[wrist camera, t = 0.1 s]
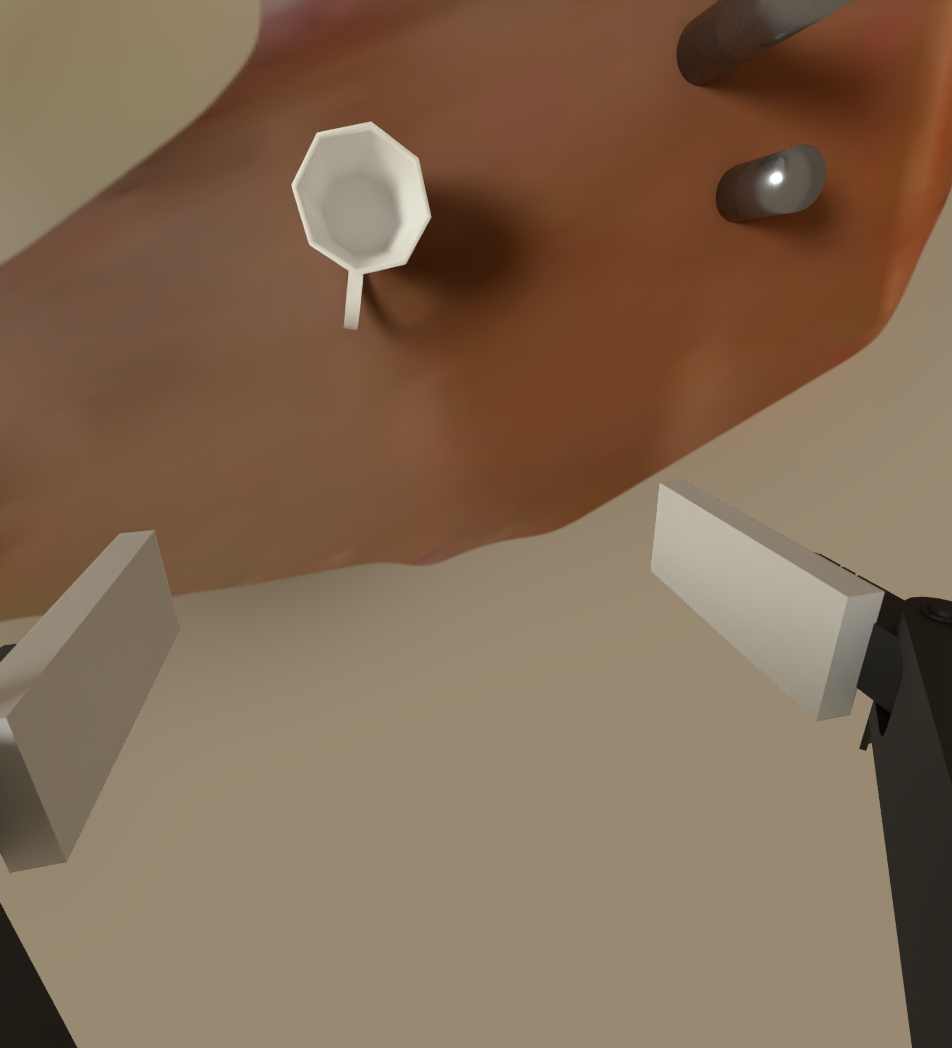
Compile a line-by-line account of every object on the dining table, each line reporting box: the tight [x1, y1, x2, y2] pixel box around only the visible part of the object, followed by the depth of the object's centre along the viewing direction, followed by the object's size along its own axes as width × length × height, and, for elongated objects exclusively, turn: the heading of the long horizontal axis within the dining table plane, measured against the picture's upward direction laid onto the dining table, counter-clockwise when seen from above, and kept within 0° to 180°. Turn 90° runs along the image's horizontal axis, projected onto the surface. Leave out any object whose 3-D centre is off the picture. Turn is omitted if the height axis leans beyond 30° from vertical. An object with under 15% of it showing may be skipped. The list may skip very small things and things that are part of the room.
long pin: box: [677, 0, 854, 86], centre depth 32 cm, size 4×4×12 cm
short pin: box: [716, 145, 826, 222], centre depth 38 cm, size 4×4×6 cm
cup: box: [292, 122, 431, 330], centre depth 33 cm, size 7×10×8 cm
